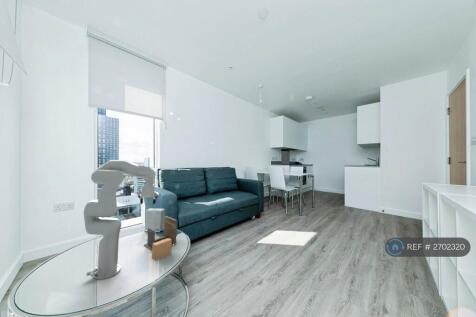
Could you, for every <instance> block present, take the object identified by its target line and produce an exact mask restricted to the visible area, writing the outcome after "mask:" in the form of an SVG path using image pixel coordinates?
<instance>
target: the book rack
mask: <svg viewBox="0 0 476 317" xmlns="http://www.w3.org/2000/svg"><path fill="white" fill-rule="evenodd" d="M177 223H178V220H177V219H175V218H173V217H170V216H168V215H165V219H164V230H163V236H161V237H158V238H156V232H155V231H154V230H152V229H150V228H148V232H147V243H144V244H143V246H144V247H145V248H147V249H148V250H149V251H151V252H152V244H153V243H155V242H158V241H161V240H164V239H167V238H170V239H172V245H173V244H175V243H176V244H177V231H178V230H177V229H178V228H177V226H178V224H177ZM176 244H175V245H176ZM173 246H174V245H173Z"/></svg>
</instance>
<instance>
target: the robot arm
mask: <svg viewBox="0 0 476 317" xmlns="http://www.w3.org/2000/svg"><path fill="white" fill-rule="evenodd" d="M125 175H127V176H131V177H137V178H138V179H139V178H140V179H143V181H142V182H141V184H142V186H141V190H140V192H138V193H136V195H137V198H138V199H139V204H140V205H143V203H144V198H152V199H153V200H152V205H155V204H156V203H157V199H158V198H159V197H160V193H158V192H156V186H155V184H154V183H155V177H156V175H157V171H156V170H155V168H152V167H150V166H145V165H140V164H136V163H133V162H131V161H128V160H119V159H112V160H108V161H107V162H105V163H103V164H102V165H100V166H99V167H98V168H96V169H95V170H94V171H93V172H92V173H91V176H90V180H91V181H92V182H93V183H94V184H97V185H102V186H100V189H99V190H98V192H97V199H93V200H90V201H88V202H87V203H86V204H85V206H84V208H83V219H84V221H83V222H84V228H85V231H86V233H87V234H89V235H93V236H96V235H97V236H102V238H101V239H100V240H99V243H98V247H97V248H98V253H97V266H95V268H94V269H93V270H89V271H86V276H87V277H88V276H90V277H93V279H96V280H104V279H105V280H106V279H109V278H112V277H113V276H116V275H117V274H118V273H119V272H120V271H121V265H120V264H118V263H119V240H120V239H119V238H120V234H121V233H120V232H121V228H122V221H121V220H120V219H119V218H117V217H114V216H115V215H116V214H117V210H118V205H117V190H119V187H120V186H121V184H122V183H123V181H124V180H125Z"/></svg>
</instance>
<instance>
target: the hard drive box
mask: <svg viewBox="0 0 476 317" xmlns="http://www.w3.org/2000/svg"><path fill="white" fill-rule="evenodd" d="M165 212H166V208H151V207H150V208H148V209H146V210H145V213H144V214H145V217H144V218H145V219H144V222H145V223H144V231H145V230H147V231H148V228H150V229H152V230H154V231H161V230H163V229H164V219H165V216H166V215H165V214H166V213H165ZM163 231H164V230H163Z"/></svg>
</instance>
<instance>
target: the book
mask: <svg viewBox="0 0 476 317" xmlns="http://www.w3.org/2000/svg"><path fill="white" fill-rule="evenodd" d="M169 253H171V254H172V239H170V238H167V239H164V240H161V241H158V242H155V243H153V244H152V251H151V259H152V260H153V261H156V260H160V259H161V258H163V257H164V258H165V257H166V255H167V256H169V255H170V254H169ZM168 254H169V255H168Z"/></svg>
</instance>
